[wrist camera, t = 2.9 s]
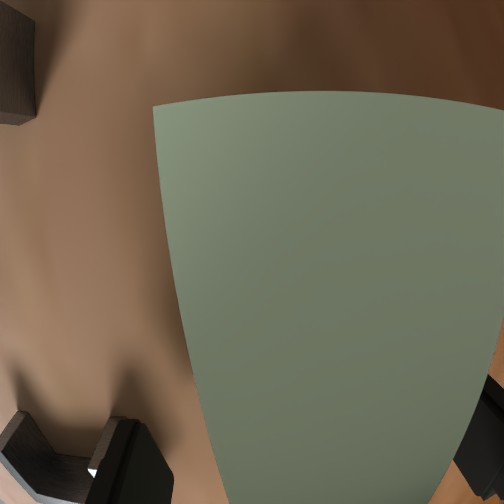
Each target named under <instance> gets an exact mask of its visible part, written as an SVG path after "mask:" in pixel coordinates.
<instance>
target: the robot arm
mask: <svg viewBox="0 0 504 504" xmlns="http://www.w3.org/2000/svg"><path fill="white" fill-rule="evenodd" d="M453 460H454V462H455V463H456V465H457V467H458V468H459V470H460V471H461V473H462V474H463V476H464V478H465V479H466V481H467V482H468V484H469V486H470V487H471V489H472V490H473V492H474V493H475V495H477V496H481V498H482V499H483V501H485V500H486V499H488V498H490V497H491V496H493V495H494V494H496V493H497V495H498V496H499V498H500V500H499V504H504V389H503V388H502V387H501V386H500V385H499V384H498V383H497V382H496V381H495V380H494V379H493V378H492V377H491V376H490V375H489V374H488V375H487V378H486V381H485V384H484V387H483V389H482V392H481V395H480V398H479V400H478V403H477V406H476V408H475V411H474V413H473V416H472V418H471V421H470V423H469V425H468V428H467V430H466V432H465V434H464V437H463V439H462V441H461V443H460V445H459V447H458V450H457V452H456V454H455V456H454V458H453ZM173 485H174V476H173V473H172V471H171V469H170V468H169V466H168V464H167V463H166V461H165V459H164V457H163V456H162V454H161V452H160V450H159V449H158V447H157V445H156V443H155V441H154V439H153V438H152V436H151V434H150V432H149V430H148V428H147V426H146V425H145V424H144V423H141V422H140V421H139V420H138V419H120V420H119V421H118V423H117V425H116V428H115V430H114V433H113V436H112V438H111V441H110V443H109V446H108V448H107V451H106V454H105V456H104V458H103V459H102V460H101V461H100V463H99V466H98V468H97V471H96V474H95V476H94V479H93V482H92V485H91V487H90V490H89V493H88V496H87V498H86V501H85V504H171V498H172V492H173Z"/></svg>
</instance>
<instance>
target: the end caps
mask: <svg viewBox="0 0 504 504" xmlns="http://www.w3.org/2000/svg"><path fill="white" fill-rule="evenodd" d="M34 23H35V21H33V20H31V19H30V18H28V17H27V16H25V15H23V14H22V13H20V12H18V11H17V10H15V9H13V8H12V7H10V6H8V5H7V4H5V3H3V2H2V1H0V124H10V125H18V126H19V125H21V124H23V123H25V122H27V121H29V120H32V119H34V118H36V111H35V97H34V70H33V49H34ZM120 419H126V417H109V419H108V421H107V423H106V425H105V428H104V430H103V432H102V435H101V437H100V439H99V442H98V444H97V446H96V449H95V451H94V454H93V456H92V458H82V457H73V456H66V455H59V454H56V453H55V452H54V451H53V449H52V448H51V447H50V445H49V444H48V442H47V441H46V440H45V438H44V437H43V435H42V434H41V432H40V431H39V429H38V428H37V426H36V425H35V423H34V422H33V420H32V419H31V417H30V415H29V414H28V412H20V411H17V412H16V414H15V415H14V416H13V418H12V419H11V420H10V422H9V423H8V425H7V426H6V427H5V429H4V430H3V432H2V433H1V434H0V462H1V463H2V464H3V465H4V467H5V468H6V469H7V470H8V471H9V473H10V474H11V475H12V476H13V477H14V478H15V479H16V481H17V482H18V483H19V484H20V485H21V486H22V487H23V488H24V489H25V490H26V491H27V492H28V494H29V495H30V496H31V497H32V498H33V499H34V500H35V501H36V502H39V503H43V504H85V501H86V498H87V496H88V493H89V490H90V487H91V485H92V482H93V479H94V476H95V474H96V471H97V468H98V466H99V463H100V461H101V460H102V459H103V458H104V456H105V454H106V451H107V448H108V446H109V443H110V441H111V438H112V436H113V433H114V430H115V428H116V425H117V423H118V421H119V420H120Z"/></svg>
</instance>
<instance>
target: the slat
mask: <svg viewBox="0 0 504 504" xmlns="http://www.w3.org/2000/svg"><path fill="white" fill-rule="evenodd" d="M153 117H154V129H155V141H156V151H157V161H158V171H159V179H160V188H161V196H162V204H163V211H164V219H165V226H166V233H167V239H168V246H169V252H170V259H171V265H172V271H173V276H174V282H175V288H176V293H177V299H178V304H179V309H180V315H181V320H182V325H183V330H184V334H185V339H186V344H187V348H188V353H189V358H190V362H191V366H192V371H193V375H194V379H195V384H196V388H197V392H198V396H199V400H200V404H201V408H202V412H203V416H204V419H205V423H206V427H207V431H208V434H209V438H210V441H211V445H212V449H213V452H214V455H215V459H216V462H217V466H218V469H219V472H220V476H221V479H222V482H223V485H224V488H225V491H226V495H227V498H228V501H229V504H428V502H429V501H430V499H431V497H432V496H433V494H434V492H435V491H436V489H437V487H438V486H439V484H440V482H441V480H442V478H443V477H444V475H445V473H446V471H447V469H448V467H449V465H450V464H451V462H452V460H453V458H454V456H455V454H456V452H457V450H458V447H459V445H460V443H461V441H462V439H463V437H464V434H465V432H466V430H467V428H468V425H469V423H470V421H471V418H472V416H473V413H474V411H475V408H476V406H477V403H478V400H479V398H480V395H481V392H482V389H483V387H484V384H485V381H486V378H487V375H488V372H489V368H490V365H491V362H492V358H493V355H494V351H495V348H496V344H497V340H498V337H499V333H500V328H501V324H502V320H503V315H504V110H499V109H495V108H490V107H485V106H480V105H475V104H469V103H464V102H458V101H451V100H445V99H438V98H430V97H422V96H412V95H402V94H390V93H376V92H355V91H291V92H269V93H254V94H242V95H231V96H221V97H213V98H204V99H197V100H190V101H183V102H177V103H170V104H164V105H159V106H153Z"/></svg>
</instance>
